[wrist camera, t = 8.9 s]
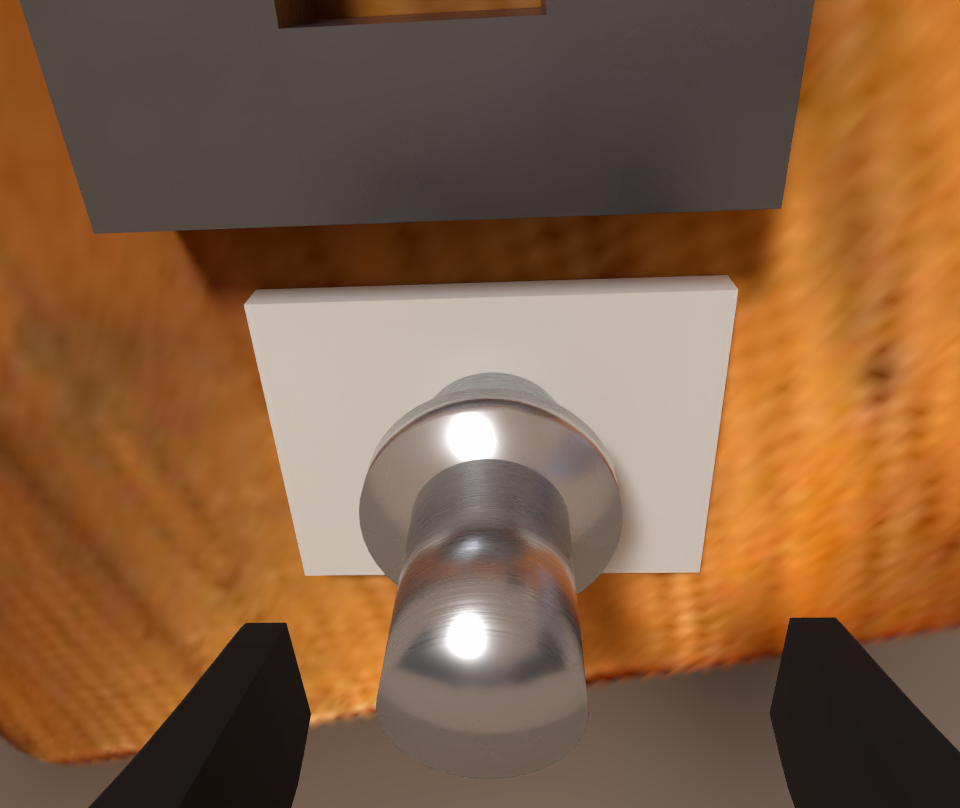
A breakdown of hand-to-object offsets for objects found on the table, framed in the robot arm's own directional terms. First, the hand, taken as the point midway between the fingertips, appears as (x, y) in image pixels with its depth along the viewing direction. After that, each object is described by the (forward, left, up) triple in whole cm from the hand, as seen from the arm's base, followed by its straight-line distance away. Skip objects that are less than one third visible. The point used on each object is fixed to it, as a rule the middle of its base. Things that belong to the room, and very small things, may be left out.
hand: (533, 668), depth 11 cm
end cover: (+1, +2, -9) cm, 10 cm away
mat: (+1, +3, -10) cm, 11 cm away
